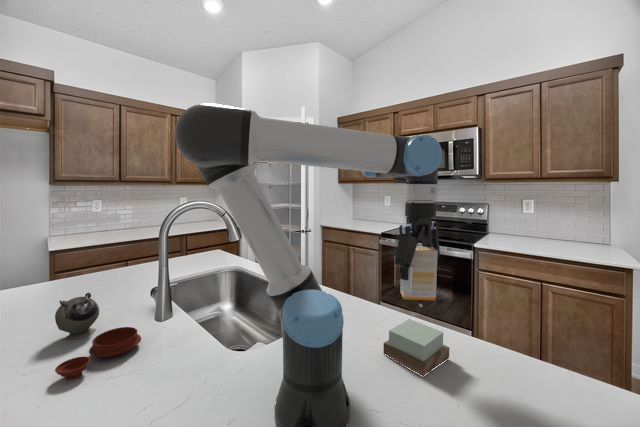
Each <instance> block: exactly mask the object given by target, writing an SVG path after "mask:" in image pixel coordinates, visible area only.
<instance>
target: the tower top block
mask: <svg viewBox="0 0 640 427" xmlns="http://www.w3.org/2000/svg"><path fill="white" fill-rule="evenodd" d="M388 340H389V345H390V346H392V347H394V348H396V349H398V350H400V351H402V352H404V353H407V354H409V355H411V356H413V357H415V358H417V359H419V360H421V361H423V362H424V361H425V360H427V359H428V358H429V357H430V356H432V355H433V354H434V353H435V352H437V351H438V350H439V349H440V348H442V347H443V345H444V331H441V330H439V329H437V328H433V327H432V326H428V325H426V324H425V323H424V324H423V323H422V322H418V321H416V320H412V319H410V318H408V319H407V320H405V321H403V322H401V323H399V324H398V325H396V326H394V327H393V328H391V329H389V330H388Z"/></svg>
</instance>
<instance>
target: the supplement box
mask: <svg viewBox="0 0 640 427" xmlns="http://www.w3.org/2000/svg"><path fill="white" fill-rule="evenodd" d="M437 253H438V251H437V250H436V249H435V248H433V247H423V246H417V247H416V250H415V253H414V256H413V259H412V263H411V266H410V267H412V268H413V271H412V293H411V294H409V293H406V292H403V291H401V285H400V288H399V289H400V291H399V293H400V294H401V297H402V299H403V300H410V301H411V300H412V301H415V300H417V301H420V300H421V301H436V299H437V278H438V277H437V275H438V274H437V272H438V261H437V258H438V257H437Z"/></svg>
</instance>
